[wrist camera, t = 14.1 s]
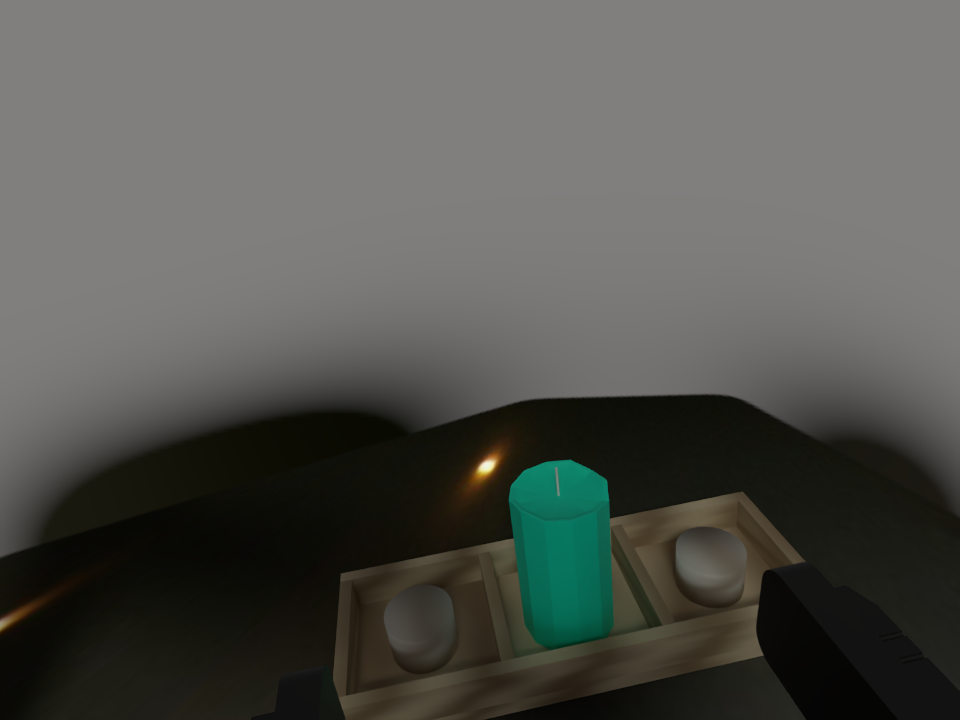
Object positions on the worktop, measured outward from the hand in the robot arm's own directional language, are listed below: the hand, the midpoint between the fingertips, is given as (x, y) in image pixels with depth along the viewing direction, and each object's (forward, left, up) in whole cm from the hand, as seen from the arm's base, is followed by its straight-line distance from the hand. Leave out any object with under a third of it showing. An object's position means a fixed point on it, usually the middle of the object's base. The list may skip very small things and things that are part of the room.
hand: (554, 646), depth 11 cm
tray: (-10, +20, -25) cm, 33 cm away
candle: (-10, +19, -24) cm, 32 cm away
